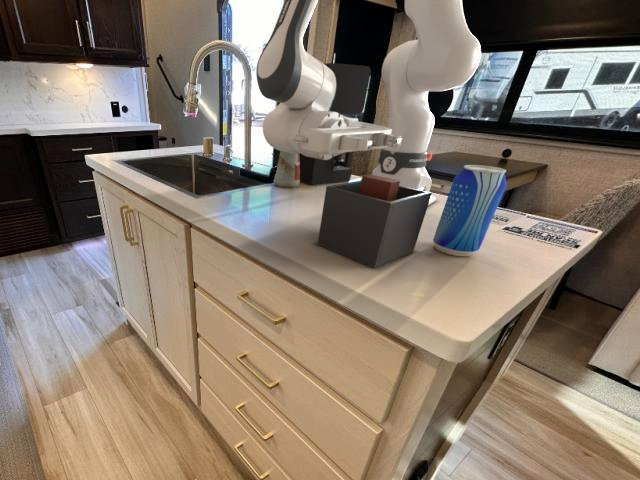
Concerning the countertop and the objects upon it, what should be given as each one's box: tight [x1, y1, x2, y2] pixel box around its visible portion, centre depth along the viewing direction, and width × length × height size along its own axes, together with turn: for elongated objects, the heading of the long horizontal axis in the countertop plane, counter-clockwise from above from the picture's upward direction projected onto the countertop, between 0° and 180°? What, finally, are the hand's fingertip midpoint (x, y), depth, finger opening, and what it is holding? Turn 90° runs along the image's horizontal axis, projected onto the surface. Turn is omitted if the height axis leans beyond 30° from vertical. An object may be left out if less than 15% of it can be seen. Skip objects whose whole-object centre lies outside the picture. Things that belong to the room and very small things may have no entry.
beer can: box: [432, 164, 508, 257], centre depth 66 cm, size 8×8×16 cm
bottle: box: [273, 151, 301, 189], centre depth 108 cm, size 9×9×28 cm
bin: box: [317, 179, 433, 269], centre depth 66 cm, size 14×14×12 cm
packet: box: [359, 174, 400, 202], centre depth 65 cm, size 3×6×13 cm, turn 38°
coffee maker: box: [271, 62, 371, 186], centre depth 118 cm, size 28×20×35 cm
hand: (384, 143), depth 60 cm, fingers open, 8 cm apart
